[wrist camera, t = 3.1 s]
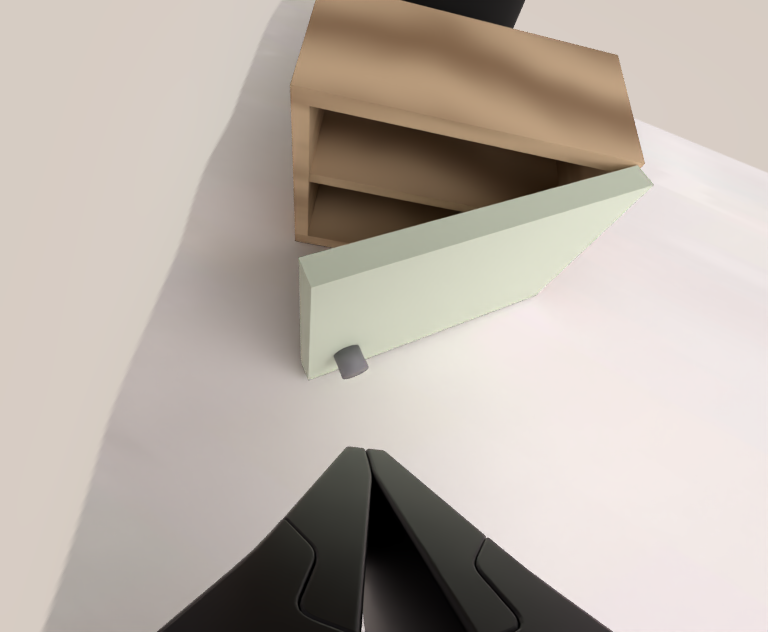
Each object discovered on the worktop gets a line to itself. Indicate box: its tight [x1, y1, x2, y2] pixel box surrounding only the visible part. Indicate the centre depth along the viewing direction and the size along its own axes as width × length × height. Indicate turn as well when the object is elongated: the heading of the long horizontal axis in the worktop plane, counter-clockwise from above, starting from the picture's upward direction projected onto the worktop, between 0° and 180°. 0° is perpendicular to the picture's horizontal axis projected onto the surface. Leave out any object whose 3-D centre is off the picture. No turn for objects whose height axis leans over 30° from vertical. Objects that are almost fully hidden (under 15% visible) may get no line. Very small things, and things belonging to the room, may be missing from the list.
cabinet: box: [290, 0, 645, 248], centre depth 25 cm, size 8×16×11 cm, turn 84°
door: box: [299, 165, 654, 380], centre depth 21 cm, size 2×16×11 cm, turn 114°
